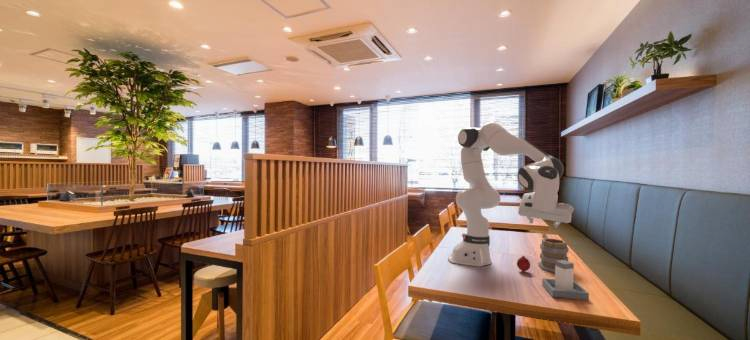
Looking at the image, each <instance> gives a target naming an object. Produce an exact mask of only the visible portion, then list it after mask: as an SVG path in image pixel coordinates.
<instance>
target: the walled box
mask: <svg viewBox="0 0 750 340" xmlns="http://www.w3.org/2000/svg"><path fill="white" fill-rule="evenodd" d="M541 280H542V283H541V286H542V287H543V288H544V289H545V290H546V292H548V294H549V296H551V298H553V299H565V300H574V301H575V300H576V301H585V300H586V302H589V299H590V293H589V292H588V291H587V290H586V289H585V288H584V287H583V286H581V285H580V284H579V283H578V282H577V281H576V280H573V291H567V290H555V278H543V277H542V278H541Z"/></svg>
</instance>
